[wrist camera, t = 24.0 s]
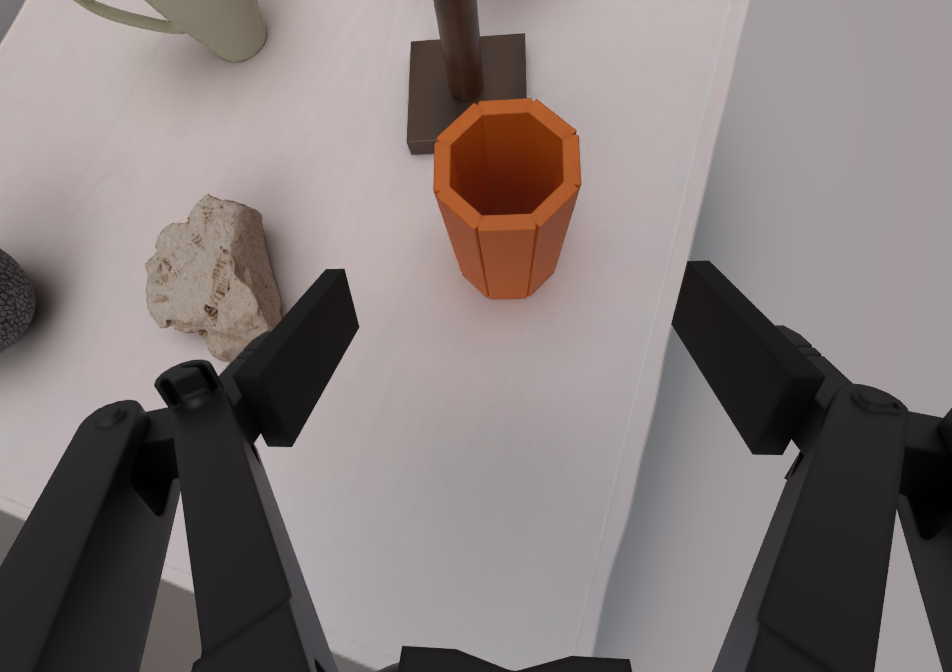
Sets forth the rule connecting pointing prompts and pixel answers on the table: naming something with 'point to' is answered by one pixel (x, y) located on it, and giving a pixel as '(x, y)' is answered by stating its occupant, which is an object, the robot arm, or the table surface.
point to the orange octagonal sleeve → (507, 193)
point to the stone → (214, 277)
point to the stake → (459, 72)
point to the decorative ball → (14, 301)
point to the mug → (200, 23)
